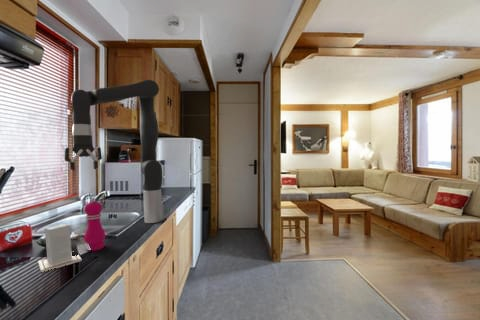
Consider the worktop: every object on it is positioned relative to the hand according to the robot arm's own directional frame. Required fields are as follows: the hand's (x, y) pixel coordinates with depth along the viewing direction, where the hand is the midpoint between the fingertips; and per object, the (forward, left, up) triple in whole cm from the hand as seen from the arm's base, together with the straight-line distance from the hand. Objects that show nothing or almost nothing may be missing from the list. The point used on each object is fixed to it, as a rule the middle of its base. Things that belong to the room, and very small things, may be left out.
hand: (84, 169), depth 111 cm
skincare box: (+14, +26, -30) cm, 42 cm away
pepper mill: (+2, +22, -30) cm, 37 cm away
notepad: (+14, +26, -30) cm, 42 cm away
